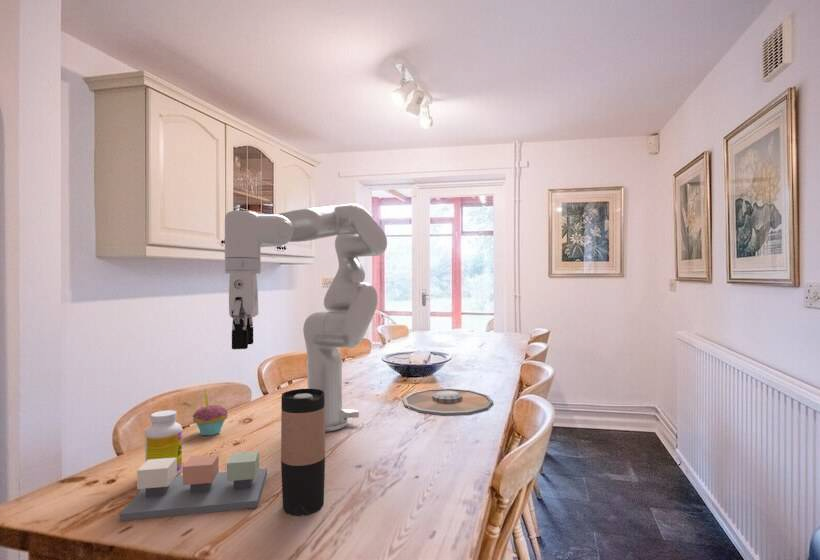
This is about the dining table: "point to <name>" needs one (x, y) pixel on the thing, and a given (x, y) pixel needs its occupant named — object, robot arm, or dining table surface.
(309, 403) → the travel mug
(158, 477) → the button cream
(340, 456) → the dining table surface
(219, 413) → the cupcake
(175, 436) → the supplement bottle
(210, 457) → the button terracotta
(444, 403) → the shield
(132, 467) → the dining table surface
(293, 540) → the dining table surface
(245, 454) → the button sage
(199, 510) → the board
